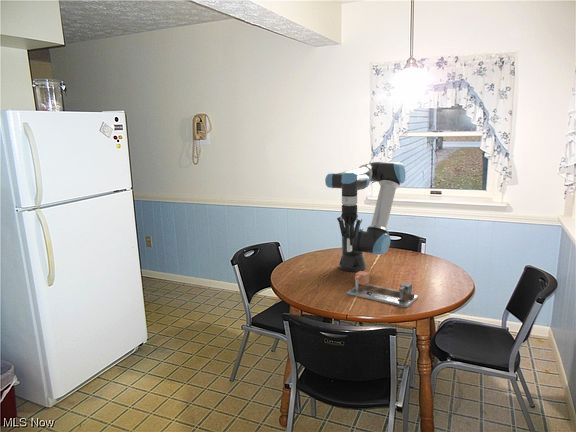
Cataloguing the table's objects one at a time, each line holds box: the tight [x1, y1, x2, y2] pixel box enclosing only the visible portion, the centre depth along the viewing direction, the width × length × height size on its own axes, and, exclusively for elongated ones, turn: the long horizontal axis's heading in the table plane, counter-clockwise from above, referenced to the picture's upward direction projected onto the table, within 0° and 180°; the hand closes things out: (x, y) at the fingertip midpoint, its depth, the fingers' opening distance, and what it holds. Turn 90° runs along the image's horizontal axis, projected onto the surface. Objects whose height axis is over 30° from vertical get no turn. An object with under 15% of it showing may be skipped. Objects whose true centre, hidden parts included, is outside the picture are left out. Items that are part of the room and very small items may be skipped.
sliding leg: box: [354, 270, 370, 290], centre depth 208 cm, size 5×9×7 cm, turn 143°
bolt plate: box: [346, 285, 419, 309], centre depth 202 cm, size 30×13×1 cm, turn 53°
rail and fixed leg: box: [358, 281, 416, 301], centre depth 201 cm, size 29×9×6 cm, turn 53°
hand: (349, 251), depth 211 cm, fingers closed
